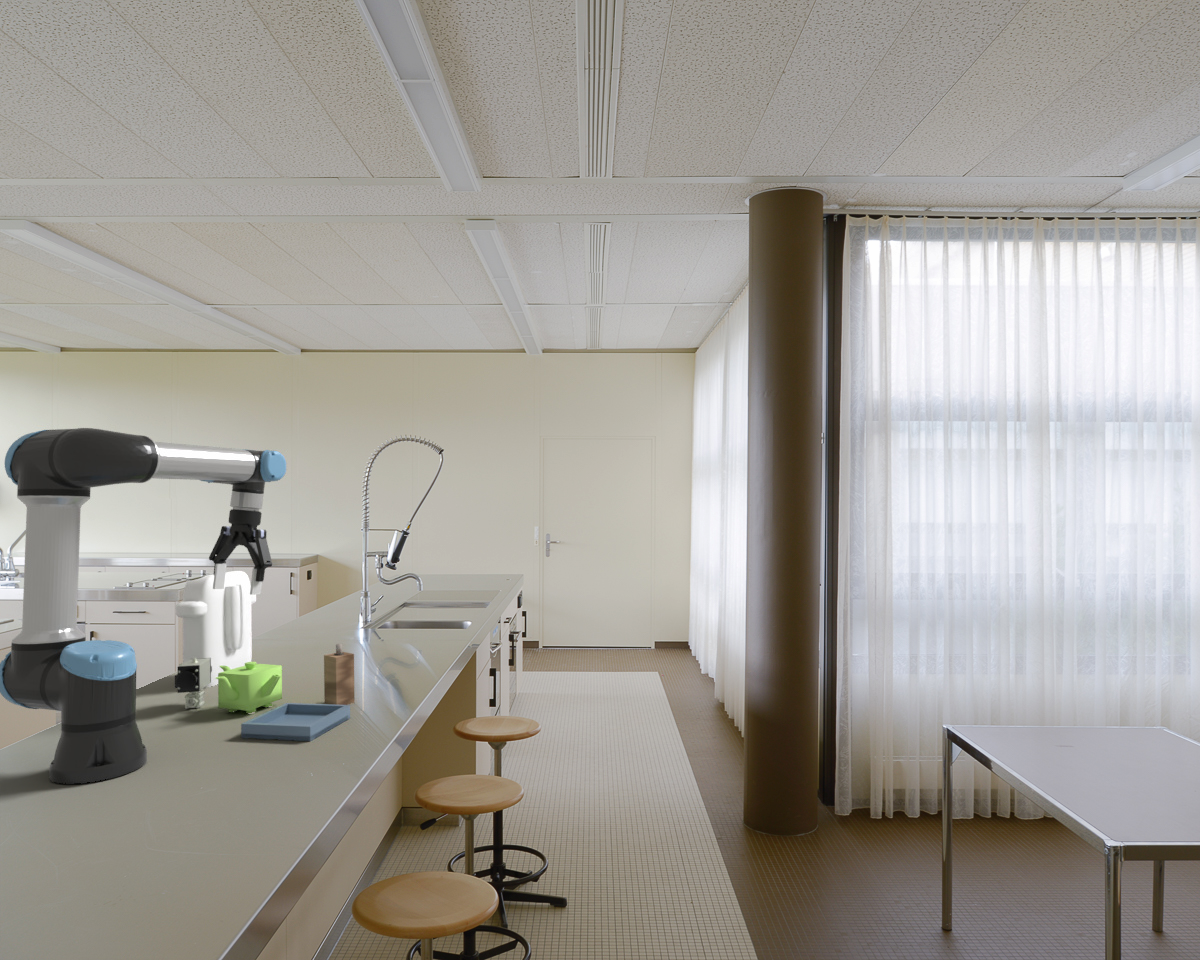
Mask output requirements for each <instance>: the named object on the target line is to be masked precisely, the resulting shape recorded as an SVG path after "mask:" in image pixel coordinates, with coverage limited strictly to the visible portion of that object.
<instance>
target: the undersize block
mask: <svg viewBox="0 0 1200 960" xmlns="http://www.w3.org/2000/svg"><path fill="white" fill-rule="evenodd" d="M323 674H324V675H323V676H324V677H323V685H324V686H323V687H324V688H323V689H324V691H323V692H324V696H323V697H324V704H335V705H352V704H355V701H356V700H355V699H356V698H355V654H354V653H351V652H347V651H343V643H336V644H335V652H333V653H328V654H324V655H323ZM351 703H352V704H351Z"/></svg>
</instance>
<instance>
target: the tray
mask: <svg viewBox="0 0 1200 960" xmlns="http://www.w3.org/2000/svg"><path fill="white" fill-rule="evenodd" d="M350 719H351V704H348V705H335V704H325V703H305V702H304V703H301V702H285V703H283V704H281V705H279V706H276V707H275V708H273V709H271V710H268V711H266V712H264V713H262V714H259V715H257V716H255V717H253V718H250V719H248V720H247V721H244V722H243V723H241V724H240V726H241V727H240V735H241V736H240V738H241V739H248V738H257V739H256V740H270V739H278V741H292V740H294V741H296V742H311V741H313V740H315V739H317V738H319V737H321V736H322V735H324V734H326V733H328V732H329V731H330V730H333V729H335V728H337V726H340V725H341V724H343V723H345V722H347V721H348V720H350Z"/></svg>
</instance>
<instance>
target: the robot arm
mask: <svg viewBox="0 0 1200 960" xmlns="http://www.w3.org/2000/svg"><path fill="white" fill-rule="evenodd" d="M4 457H5V458H4V470H5V473H6V475H7V477H8V478H9V479H10V480H11V481H12V483H13V484H14V485H16V487H17V489H16V490H17V492H16V498H17V499H18V500H20V502H22V503H23V504H24V505H25V506H26V514H25V516H26V517H25V518H26V519H25V521H26V522H25V539H24V540H25V541H24V542H25V545H24V548H25V549H24V566H23V567H24V568H23V569H24V570H23V571H24V574H23V593H22V594H23V596H22V598H23V600H22V619H21V620H22V621H21V622H22V624H21V631H20V633H18V635H16V636H15V637H14V638H13V639H12V640H11V645H10V646H11V649H10V651H9V652H8V653H7V654H5V658H4V659H3V660H1V661H0V694H1V696H2V697H3V698H4V699H5V700H7V702H9V703H11V704H13V705H16V706H20V707H23V708H25V709H28V710H29V709H31V710H48V711H49V710H50V711H58V712H60V720H61V721H60V724H61V726H60V727H61V729H60V730H61V731H60V736H59V737H60V738H58V739H59V740H58V743H57V745H56V749H55V753H54V756H53V757H54V758H53V760H52V761H51V762H50V765H49V767H48V768H49V773H48V774H49V775H48V776H49V778H50V779H49V781H50V782H52V781H53V782H52V783H54V782H57V783H56V784H59V783H63V784H62V785H75V784H74V783H81V784H88V783H87V782H90V783H94V782H95V781H96V782H101V781H106V780H110V779H113V778H114V779H115V778H117V777H121V776H124V775H126V774H130V773H132V772H134V771H136V770H138V769H140V768H141V767H143V766H144V765H145V764H146V763H147V761H148V759H147V757H148V755H147V754H148V752H147V747H146V745H145V744H143V739H142V736H141V732H140V730H139V727H138V724H137V713H136V711H137V668H138V663H137V658H136V652H135V650H134V648H133V646H132V645H130V644H129V643H127V642H123V641H117V640H111V639H108V640H106V639H105V640H101V639H98V640H97V639H96V640H95V639H94V640H87V639H86V637H87V635H86V633H85V632H84V631H82V630H81V629H80V628H79V627H78V625H77V624H78V602H79V600H78V598H79V596H78V595H79V593H78V592H79V566H80V565H79V564H80V541H81V540H80V539H81V538H80V536H81V509H82V507H83V505H84V504H85V503H87V502H88V501H89V500H90V499H91V489H92V488H96V487H97V488H99V487H104V486H105V487H106V486H111V485H119V484H132V483H133V484H135V483H136V484H143V483H146V482H149V481H150V480H152V479H159V480H160V479H161V480H162V479H163V480H165V479H167V480H190V481H191V480H193V481H194V480H195V481H197V480H198V481H201V482H206V483H208V484H211V483H214V484H222V485H223V484H225V485H232V487H231V488H232V489H231V497H230V505H229V506H230V507H231V509H230V510H229V514H228V523H229V524H231V526H229V525H228V526H227V525H226V526H224V525H223V526H221V528H220V531H219V532H220V533H219V535H218V538H217V540H216V542H215V544H214V546H213V548H212V551H211V552H210V554H209V557H208V560H209V561H212V562H213V564H214V567H213V574H214V582H213V589H224V583H225V574H226V572H227V567H228V565H227V559H228V558H229V557H230V556H231V554H232V553H233V551H234V550H235V549H236V548H237V547H238V546H244V547H245V548H246V549H247V552H248V554H249V556H250V559H251V560H252V562H253V565H254V567H253V568H252V572H251V573H252V574H251V579H250V585H251V588H250V595H256V596H257V595H261V594H262V589H263V588H262V587H263V582H264V578H265V572H266V569H267V568H270V567H272V566H273V561H272V557H271V553H270V549H269V544H268V539H267V530H266V529H258V526H260V525H261V521H262V511H260V510H262V509H263V502H264V493H265V485H266V483H271V482H278V481H280V480H281V479H283V477H284V476H285V474H286V472H287V460H286V457H285V456H284V455H283V454H282V452H279V451H277V450H269V449H265V450H253V449H244V448H243V449H242V448H232V447H231V448H230V447H229V448H228V447H221V446H219V447H217V446H206V445H195V444H187V443H186V444H183V443H174V442H161V441H154V440H153V439H152V438H150V437H149V436H147V435H140V434H131V433H127V432H120V431H113V430H112V431H111V430H107V429H100V428H92V427H78V428H64V429H63V428H61V429H58V428H57V429H42V430H38V431H35V432H30V433H27V434H24V435H22V436H20V437H18V438H17V439H16V440H14V442H12V444H11V445H10V446H9V447H8V449H7V451H6V454H5V456H4ZM105 779H106V780H105ZM100 780H101V781H100ZM65 783H66V784H65Z"/></svg>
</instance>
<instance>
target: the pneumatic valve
mask: <svg viewBox="0 0 1200 960" xmlns="http://www.w3.org/2000/svg"><path fill="white" fill-rule="evenodd" d="M211 672H212V667H211V658H199V659H197V657H194V658H193V659H190V660H188V661H187V662H185V663H183V662H181V663H179V664H178V666H177V674H176V673H175V675H174V689H177V693H178V694H181V693H183V694H184V693H187V694H185V696H184V698H185V706H184V708H185V710H188V709H195V708H196V709H201V707H202V706H204V705H205V702H206V701H204V700H205V696H204V695H205V690H203V689H205V688H204V687H205V686H207V685H208V684H209V683H211Z"/></svg>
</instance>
